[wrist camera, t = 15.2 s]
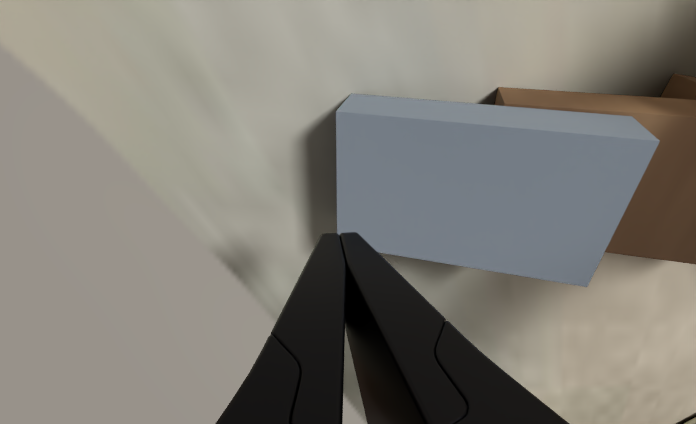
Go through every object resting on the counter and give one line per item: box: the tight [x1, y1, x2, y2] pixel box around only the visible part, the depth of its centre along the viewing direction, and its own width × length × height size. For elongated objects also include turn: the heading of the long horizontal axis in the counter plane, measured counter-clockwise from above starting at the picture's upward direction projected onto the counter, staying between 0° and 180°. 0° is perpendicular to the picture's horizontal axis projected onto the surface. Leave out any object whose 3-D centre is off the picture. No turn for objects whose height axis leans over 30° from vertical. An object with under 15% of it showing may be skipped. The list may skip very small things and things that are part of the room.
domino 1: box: [336, 94, 660, 287], centre depth 12 cm, size 2×5×8 cm
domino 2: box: [494, 87, 696, 264], centre depth 12 cm, size 2×5×8 cm
